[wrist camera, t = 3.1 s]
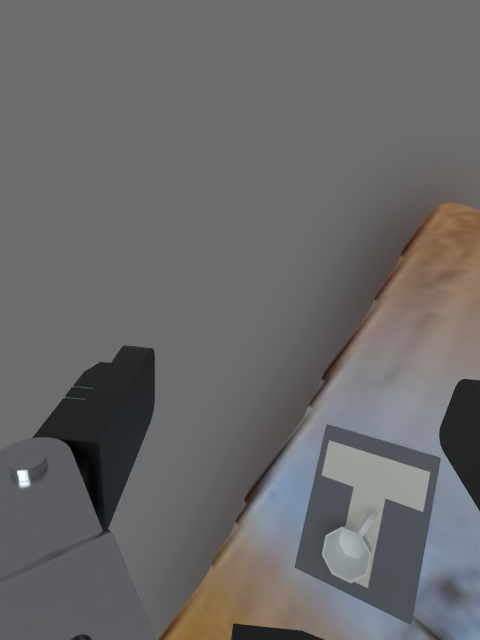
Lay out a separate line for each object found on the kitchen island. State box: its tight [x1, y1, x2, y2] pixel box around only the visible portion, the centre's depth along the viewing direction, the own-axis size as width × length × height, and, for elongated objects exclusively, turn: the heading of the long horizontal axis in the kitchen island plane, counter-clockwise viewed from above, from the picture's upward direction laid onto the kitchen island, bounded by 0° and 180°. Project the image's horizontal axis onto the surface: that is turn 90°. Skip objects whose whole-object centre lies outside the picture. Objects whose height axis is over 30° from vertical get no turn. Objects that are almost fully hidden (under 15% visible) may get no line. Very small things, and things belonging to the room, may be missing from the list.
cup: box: [322, 511, 378, 583], centre depth 58 cm, size 7×10×8 cm
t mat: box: [295, 425, 440, 625], centre depth 62 cm, size 24×18×1 cm
